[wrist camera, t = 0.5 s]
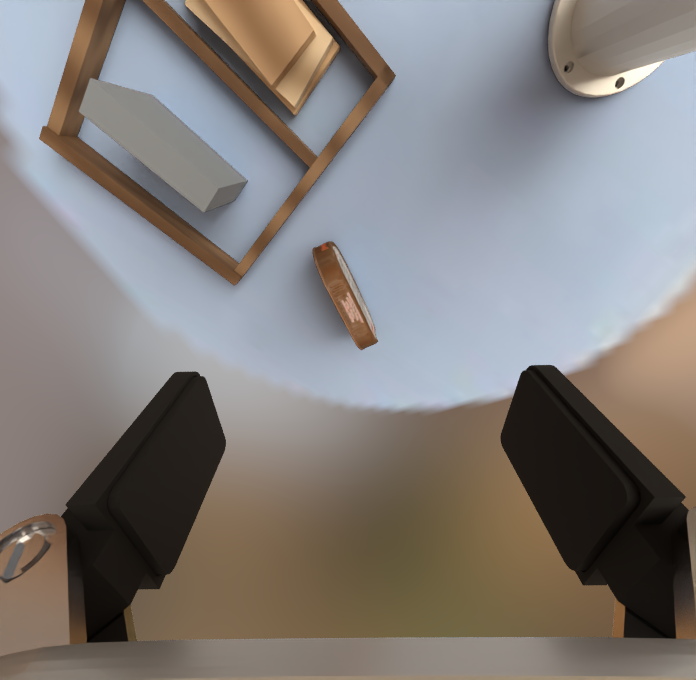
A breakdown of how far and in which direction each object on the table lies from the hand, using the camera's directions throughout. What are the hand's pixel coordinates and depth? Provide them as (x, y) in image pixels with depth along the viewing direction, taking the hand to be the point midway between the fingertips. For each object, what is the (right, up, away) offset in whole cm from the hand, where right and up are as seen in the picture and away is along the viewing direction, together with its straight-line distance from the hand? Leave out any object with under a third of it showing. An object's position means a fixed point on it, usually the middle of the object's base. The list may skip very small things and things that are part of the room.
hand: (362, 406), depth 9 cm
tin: (0, +10, +34) cm, 36 cm away
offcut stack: (-8, +33, +20) cm, 39 cm away
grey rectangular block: (-18, +24, +26) cm, 40 cm away
